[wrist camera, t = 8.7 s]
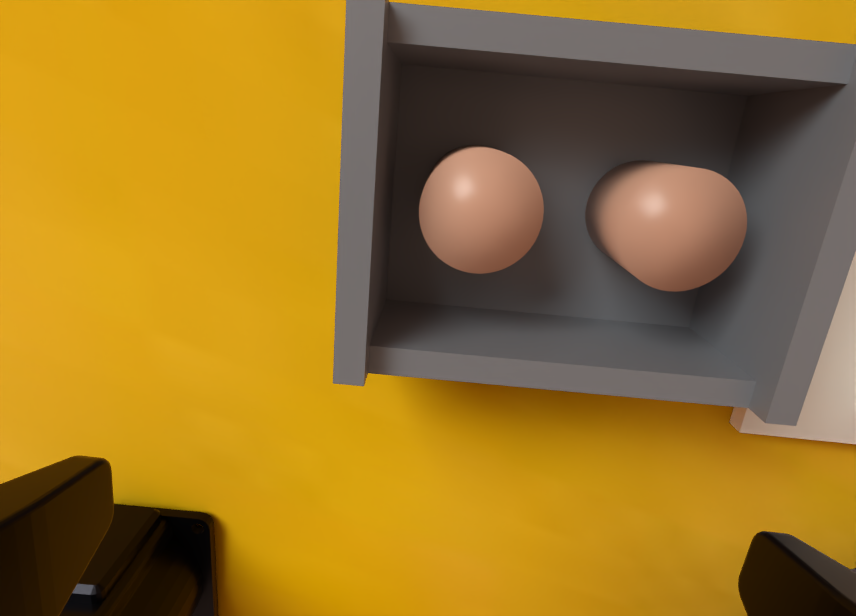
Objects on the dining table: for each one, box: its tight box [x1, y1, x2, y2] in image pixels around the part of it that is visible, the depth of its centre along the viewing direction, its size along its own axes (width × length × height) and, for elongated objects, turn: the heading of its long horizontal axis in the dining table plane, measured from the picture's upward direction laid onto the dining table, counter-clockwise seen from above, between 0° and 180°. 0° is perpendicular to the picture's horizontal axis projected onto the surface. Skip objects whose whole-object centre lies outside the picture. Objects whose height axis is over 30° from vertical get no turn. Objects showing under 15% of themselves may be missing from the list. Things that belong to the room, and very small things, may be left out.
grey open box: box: [333, 0, 856, 426], centre depth 15 cm, size 9×12×6 cm
